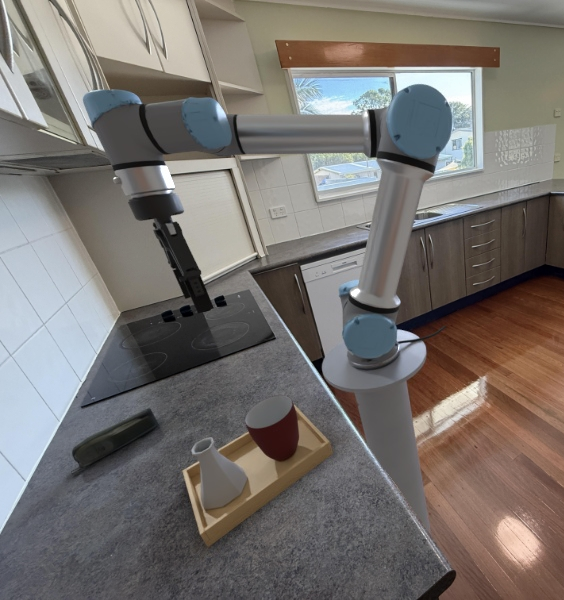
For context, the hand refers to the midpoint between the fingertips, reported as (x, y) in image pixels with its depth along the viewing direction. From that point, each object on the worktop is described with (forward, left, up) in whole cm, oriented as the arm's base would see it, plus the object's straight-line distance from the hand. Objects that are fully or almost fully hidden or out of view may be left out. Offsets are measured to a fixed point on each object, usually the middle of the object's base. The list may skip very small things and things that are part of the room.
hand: (198, 303), depth 64 cm
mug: (-1, +22, -26) cm, 34 cm away
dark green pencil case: (+23, -9, -27) cm, 37 cm away
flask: (+9, +22, -26) cm, 35 cm away
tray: (+3, +22, -27) cm, 35 cm away
